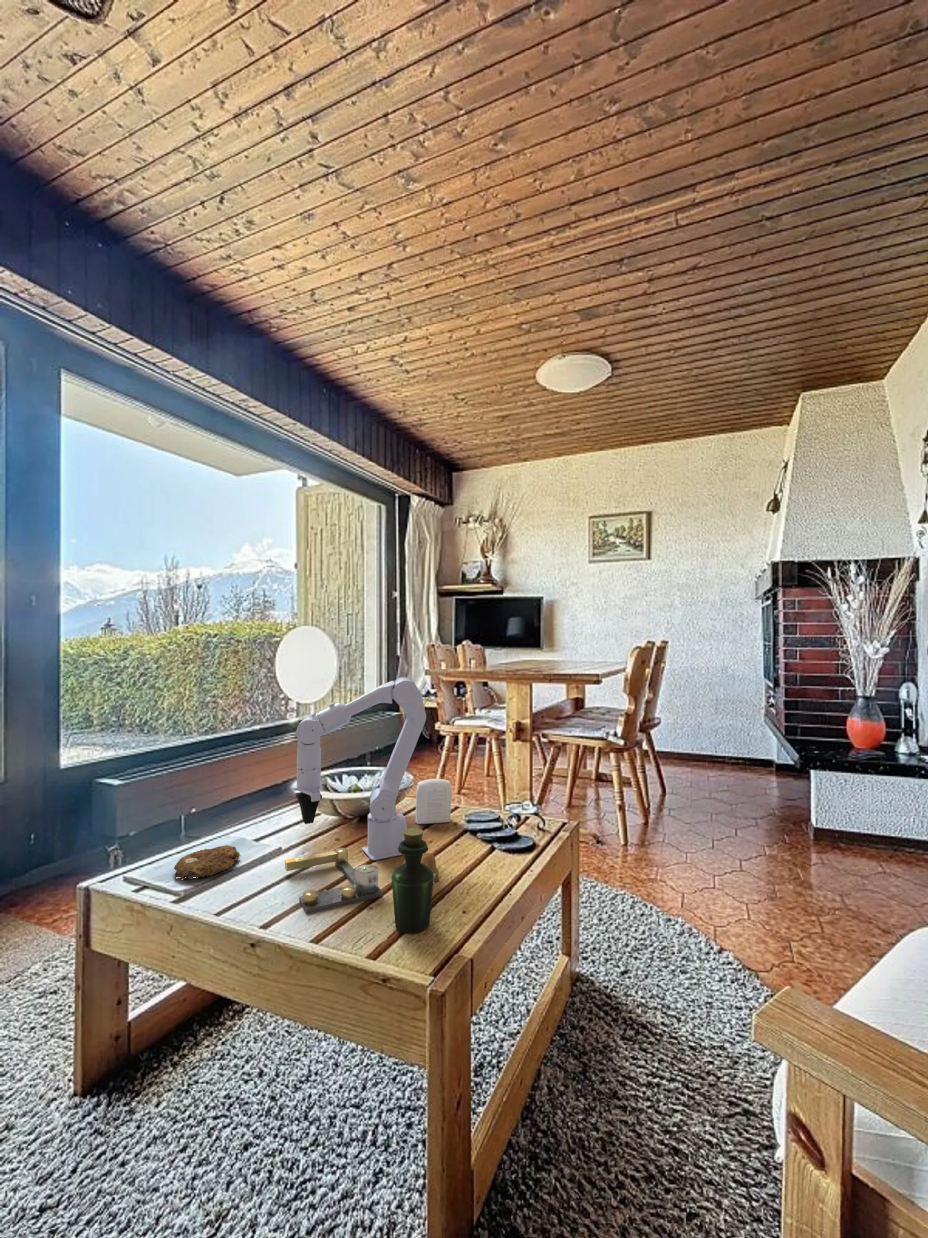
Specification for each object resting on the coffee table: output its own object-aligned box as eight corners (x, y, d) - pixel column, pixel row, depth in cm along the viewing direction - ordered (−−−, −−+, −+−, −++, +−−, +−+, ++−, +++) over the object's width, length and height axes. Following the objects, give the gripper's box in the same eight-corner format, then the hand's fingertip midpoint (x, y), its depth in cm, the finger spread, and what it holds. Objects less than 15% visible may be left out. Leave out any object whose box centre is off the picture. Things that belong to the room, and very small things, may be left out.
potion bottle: (389, 937, 107) (390, 840, 107) (392, 914, 115) (393, 824, 115) (433, 936, 107) (434, 839, 107) (433, 914, 115) (434, 824, 115)
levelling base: (355, 864, 138) (355, 840, 138) (382, 896, 122) (382, 869, 122) (287, 878, 130) (287, 853, 130) (306, 914, 114) (306, 885, 114)
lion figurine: (419, 907, 118) (419, 863, 118) (395, 903, 119) (395, 859, 119) (442, 876, 132) (443, 837, 132) (421, 873, 134) (421, 834, 134)
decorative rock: (218, 854, 144) (164, 880, 131) (217, 838, 144) (163, 862, 131) (251, 860, 139) (199, 889, 126) (250, 844, 139) (198, 870, 126)
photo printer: (448, 818, 171) (449, 776, 171) (452, 823, 166) (452, 780, 166) (414, 820, 168) (414, 778, 168) (416, 825, 164) (417, 782, 164)
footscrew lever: (345, 859, 140) (345, 847, 140) (349, 864, 137) (349, 851, 137) (284, 872, 133) (284, 858, 133) (287, 877, 130) (287, 863, 130)
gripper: (286, 762, 146) (285, 816, 146) (299, 776, 134) (298, 835, 134) (313, 759, 150) (313, 811, 150) (329, 772, 137) (328, 830, 137)
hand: (308, 822), depth 142 cm, fingers closed
